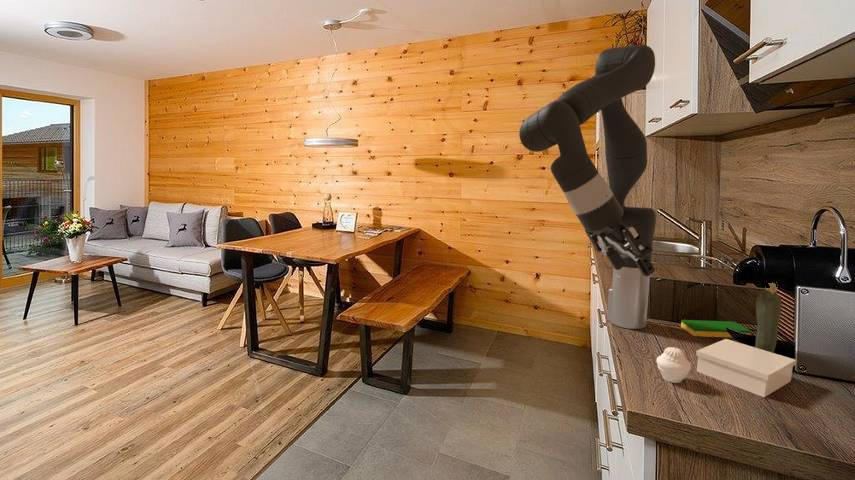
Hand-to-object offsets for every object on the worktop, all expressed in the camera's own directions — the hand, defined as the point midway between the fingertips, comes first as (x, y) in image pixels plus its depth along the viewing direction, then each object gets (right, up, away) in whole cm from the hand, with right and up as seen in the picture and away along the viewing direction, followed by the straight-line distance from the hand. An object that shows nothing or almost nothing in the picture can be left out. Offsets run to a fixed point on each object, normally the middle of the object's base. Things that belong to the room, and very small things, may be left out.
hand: (634, 270), depth 78 cm
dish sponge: (+37, -20, +30) cm, 52 cm away
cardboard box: (+26, -23, +6) cm, 35 cm away
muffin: (+10, -23, +5) cm, 26 cm away
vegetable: (+36, -22, +13) cm, 44 cm away
